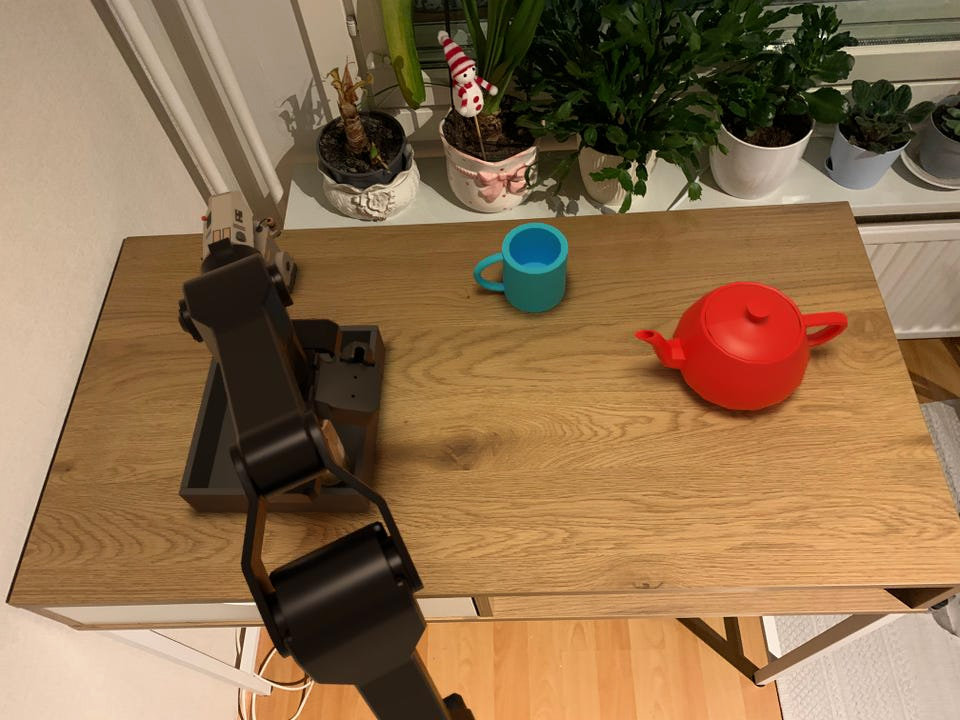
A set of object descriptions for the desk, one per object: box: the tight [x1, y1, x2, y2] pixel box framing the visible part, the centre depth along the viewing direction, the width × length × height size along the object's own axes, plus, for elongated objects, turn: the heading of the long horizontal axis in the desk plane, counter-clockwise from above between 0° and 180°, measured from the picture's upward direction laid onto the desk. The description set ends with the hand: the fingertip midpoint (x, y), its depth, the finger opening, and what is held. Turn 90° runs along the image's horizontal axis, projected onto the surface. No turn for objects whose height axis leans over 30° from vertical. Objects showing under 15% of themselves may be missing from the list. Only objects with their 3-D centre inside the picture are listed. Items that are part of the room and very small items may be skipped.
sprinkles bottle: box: [321, 420, 350, 486], centre depth 76 cm, size 5×5×14 cm
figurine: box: [200, 190, 298, 293], centre depth 92 cm, size 9×12×15 cm
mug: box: [472, 222, 569, 313], centre depth 93 cm, size 12×8×8 cm
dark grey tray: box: [178, 324, 386, 513], centre depth 85 cm, size 22×20×6 cm
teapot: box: [633, 281, 849, 411], centre depth 83 cm, size 25×16×12 cm, turn 96°
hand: (318, 442), depth 77 cm, fingers closed on sprinkles bottle, 4 cm apart
